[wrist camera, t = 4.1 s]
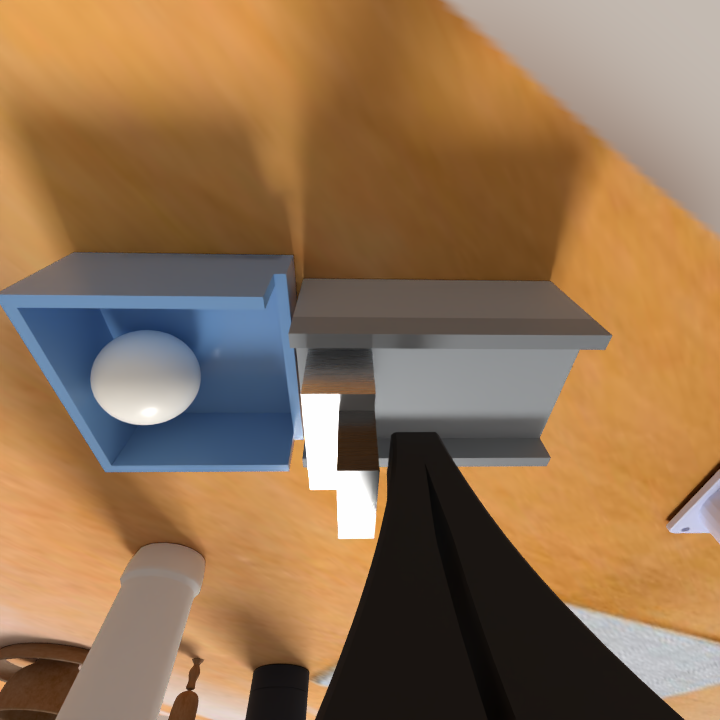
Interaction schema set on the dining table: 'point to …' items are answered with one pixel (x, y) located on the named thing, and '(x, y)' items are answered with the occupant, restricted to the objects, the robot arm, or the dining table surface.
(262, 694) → the wine bottle
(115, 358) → the ball
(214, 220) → the dining table surface
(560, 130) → the dining table surface
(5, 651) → the place setting
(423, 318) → the open gray tray
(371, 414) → the grey angular hollow piece
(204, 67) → the dining table surface
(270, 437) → the open box
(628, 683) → the robot arm
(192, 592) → the bottle
